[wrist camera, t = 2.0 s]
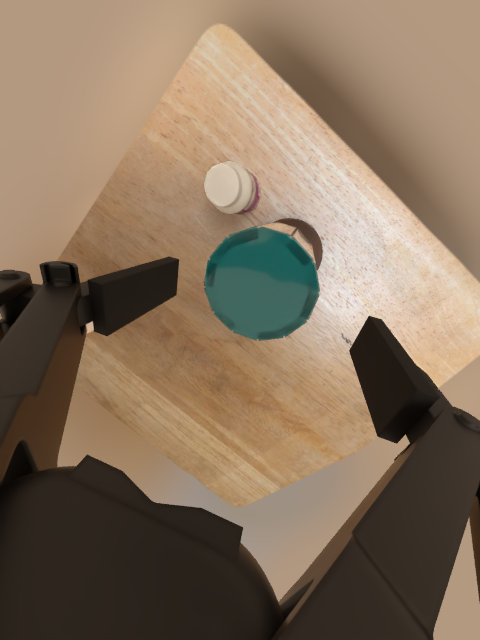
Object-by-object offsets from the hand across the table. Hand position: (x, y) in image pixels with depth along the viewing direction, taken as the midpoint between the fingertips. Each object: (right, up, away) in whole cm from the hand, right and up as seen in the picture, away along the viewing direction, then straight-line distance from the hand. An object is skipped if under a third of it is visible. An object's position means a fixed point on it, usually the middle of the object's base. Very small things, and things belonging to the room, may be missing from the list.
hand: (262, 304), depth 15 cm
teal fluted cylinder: (+2, +5, +9) cm, 11 cm away
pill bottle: (-1, +17, +17) cm, 24 cm away
